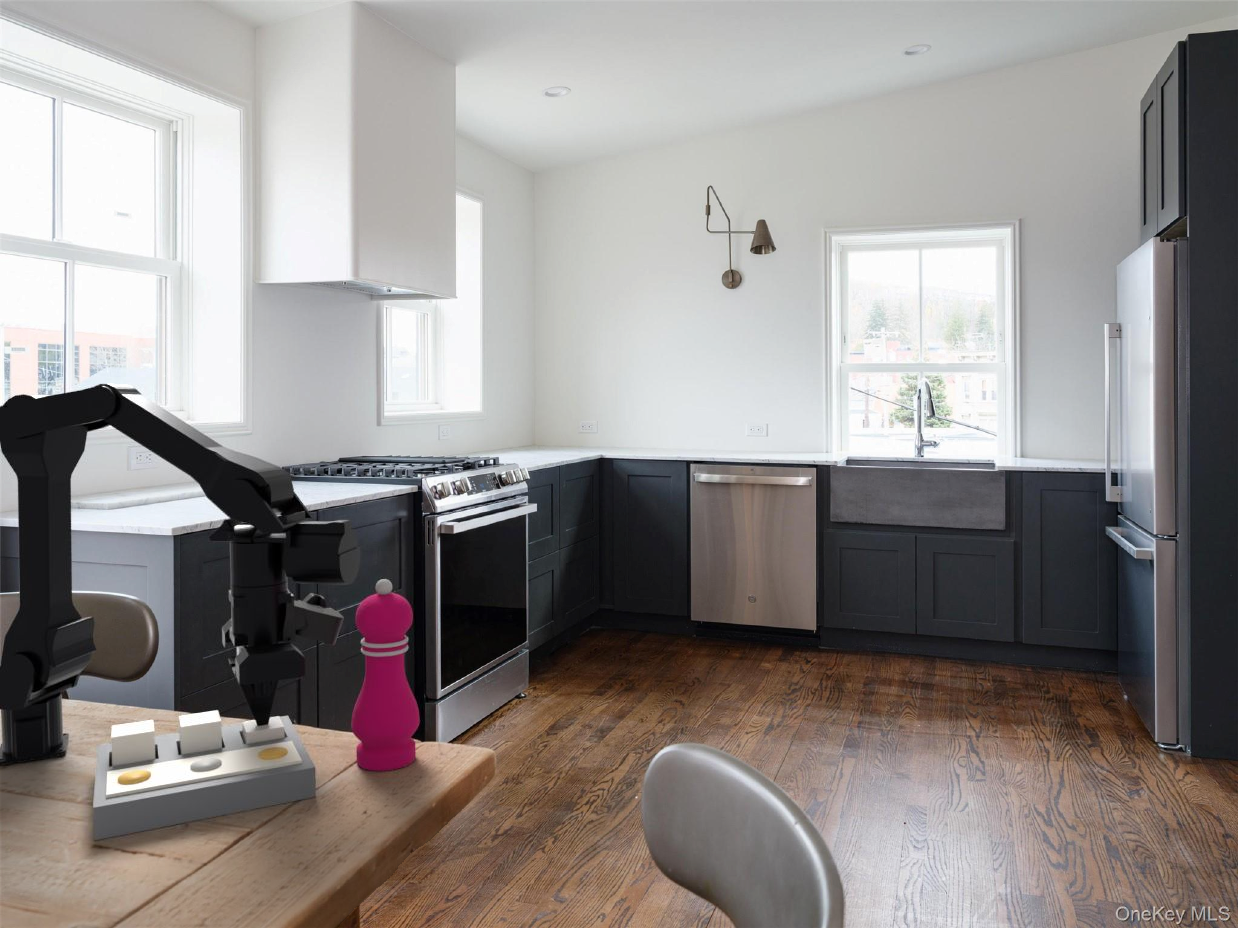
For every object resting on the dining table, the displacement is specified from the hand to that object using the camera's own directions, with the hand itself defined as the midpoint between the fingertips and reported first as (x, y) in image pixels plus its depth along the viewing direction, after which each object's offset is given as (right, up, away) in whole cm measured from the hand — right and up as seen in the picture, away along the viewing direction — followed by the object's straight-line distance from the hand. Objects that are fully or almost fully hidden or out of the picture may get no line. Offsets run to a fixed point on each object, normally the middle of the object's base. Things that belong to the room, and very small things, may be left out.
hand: (262, 724), depth 98 cm
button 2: (0, -3, 0) cm, 3 cm away
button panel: (-4, -4, -6) cm, 8 cm away
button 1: (-11, -2, -6) cm, 12 cm away
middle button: (-5, -2, -3) cm, 6 cm away
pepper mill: (+13, -4, +1) cm, 14 cm away
